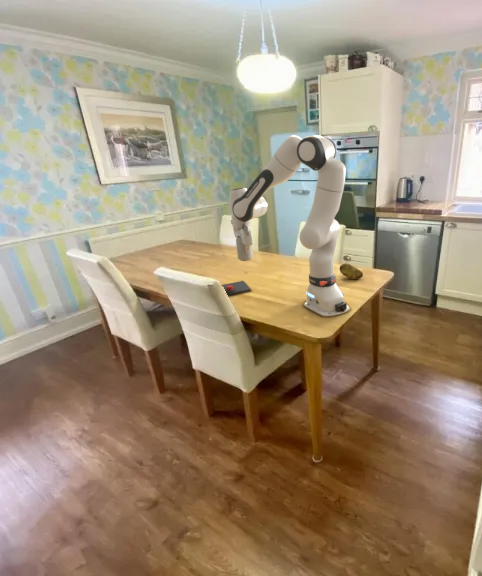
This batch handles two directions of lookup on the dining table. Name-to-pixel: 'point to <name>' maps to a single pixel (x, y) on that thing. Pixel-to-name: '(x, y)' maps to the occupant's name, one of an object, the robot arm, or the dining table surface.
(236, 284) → the scale
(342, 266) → the potato
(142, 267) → the dining table surface
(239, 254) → the can
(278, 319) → the dining table surface
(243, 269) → the dining table surface
